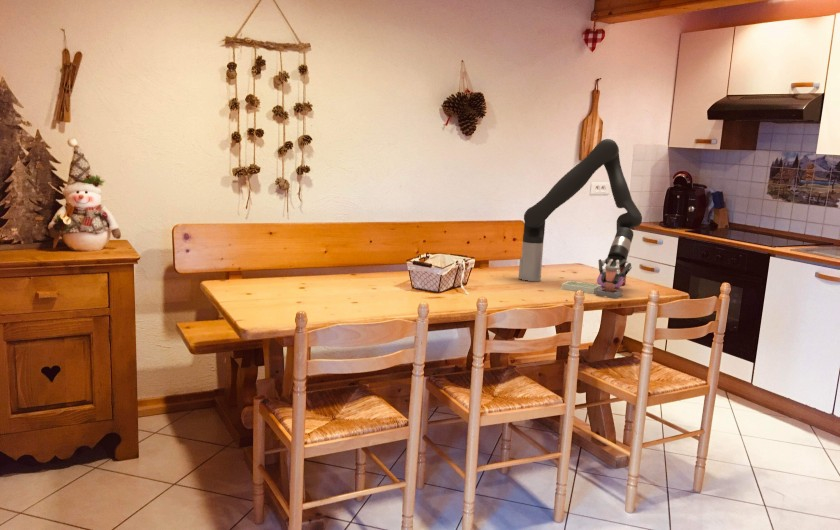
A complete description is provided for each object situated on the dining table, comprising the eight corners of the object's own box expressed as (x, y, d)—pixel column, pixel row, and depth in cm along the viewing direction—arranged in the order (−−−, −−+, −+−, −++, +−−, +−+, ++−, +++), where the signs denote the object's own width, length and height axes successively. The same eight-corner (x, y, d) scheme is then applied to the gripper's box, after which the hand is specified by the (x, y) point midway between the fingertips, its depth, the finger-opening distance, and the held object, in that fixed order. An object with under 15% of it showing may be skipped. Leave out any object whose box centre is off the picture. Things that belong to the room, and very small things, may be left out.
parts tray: (561, 290, 298) (561, 283, 297) (569, 287, 306) (569, 280, 306) (593, 295, 291) (594, 288, 290) (600, 292, 299) (601, 285, 299)
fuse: (602, 295, 288) (604, 266, 286) (605, 294, 291) (607, 265, 289) (612, 297, 286) (615, 267, 284) (615, 295, 289) (618, 266, 287)
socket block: (593, 297, 286) (594, 291, 286) (601, 293, 295) (602, 287, 295) (616, 301, 282) (616, 294, 281) (623, 296, 291) (623, 290, 290)
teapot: (609, 284, 317) (611, 264, 315) (631, 291, 303) (633, 270, 302) (590, 285, 313) (592, 264, 311) (611, 292, 299) (613, 271, 298)
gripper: (601, 242, 295) (590, 274, 287) (635, 246, 288) (625, 279, 279) (604, 253, 300) (592, 285, 292) (637, 257, 293) (627, 290, 285)
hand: (608, 282), depth 286 cm, fingers closed on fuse, 4 cm apart
